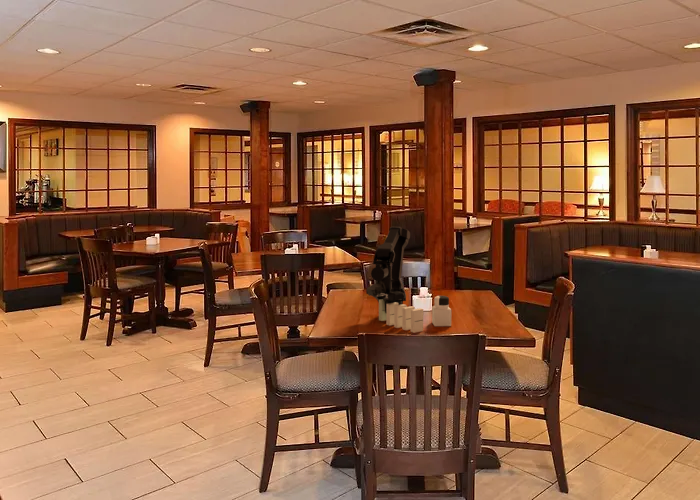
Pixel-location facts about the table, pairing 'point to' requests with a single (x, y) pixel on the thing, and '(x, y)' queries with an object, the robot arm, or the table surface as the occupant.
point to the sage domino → (382, 310)
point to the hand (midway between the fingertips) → (384, 312)
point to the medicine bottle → (441, 311)
